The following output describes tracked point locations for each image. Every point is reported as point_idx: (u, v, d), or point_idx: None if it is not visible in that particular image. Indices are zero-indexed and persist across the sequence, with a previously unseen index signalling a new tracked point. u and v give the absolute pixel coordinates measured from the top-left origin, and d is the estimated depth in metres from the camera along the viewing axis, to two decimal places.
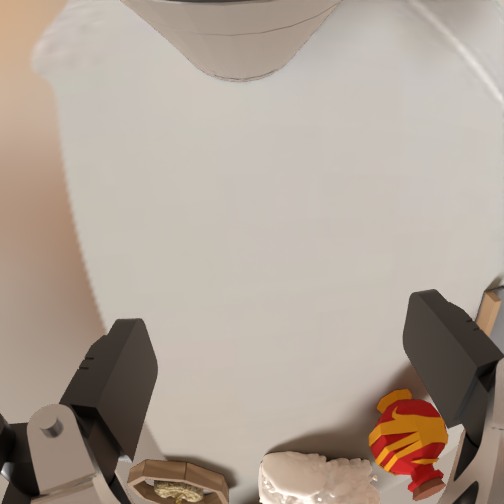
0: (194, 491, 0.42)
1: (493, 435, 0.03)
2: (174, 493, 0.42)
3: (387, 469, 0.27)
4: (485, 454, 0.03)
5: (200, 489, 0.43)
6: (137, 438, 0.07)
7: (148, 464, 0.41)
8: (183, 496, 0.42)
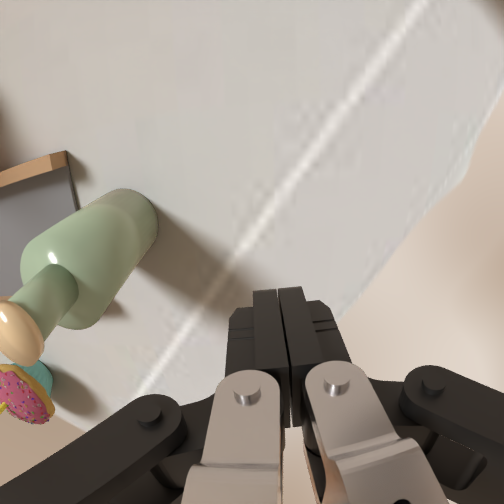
0: None
1: (333, 466, 0.04)
2: None
3: None
4: (335, 486, 0.04)
5: None
6: None
7: None
8: None
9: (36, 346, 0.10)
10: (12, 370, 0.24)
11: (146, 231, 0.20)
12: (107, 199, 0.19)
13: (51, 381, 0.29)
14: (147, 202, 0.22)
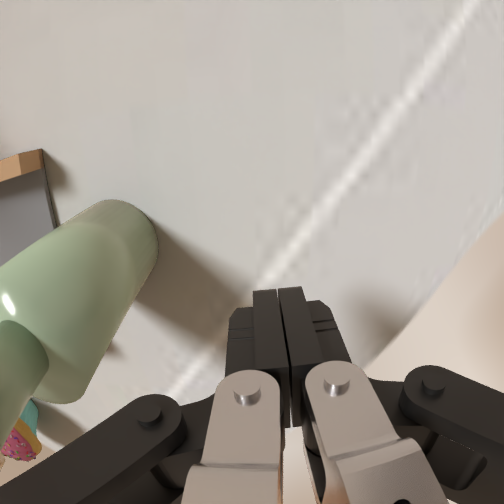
0: None
1: (333, 466, 0.04)
2: None
3: None
4: (335, 486, 0.04)
5: None
6: None
7: None
8: None
9: None
10: None
11: (143, 260, 0.15)
12: (90, 216, 0.14)
13: (36, 414, 0.24)
14: (144, 218, 0.17)
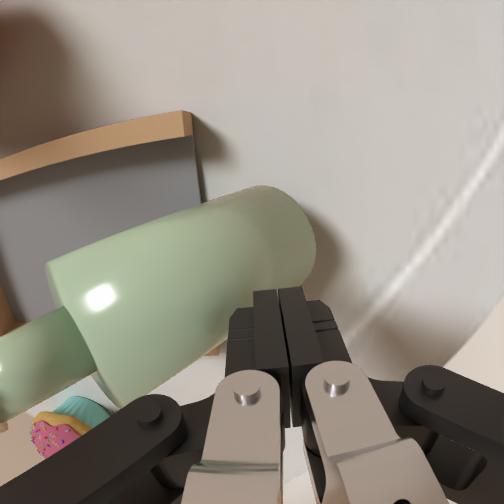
0: None
1: (333, 466, 0.04)
2: None
3: None
4: (335, 486, 0.04)
5: None
6: None
7: None
8: None
9: None
10: (66, 423, 0.18)
11: (279, 276, 0.12)
12: (224, 206, 0.12)
13: None
14: (303, 221, 0.14)
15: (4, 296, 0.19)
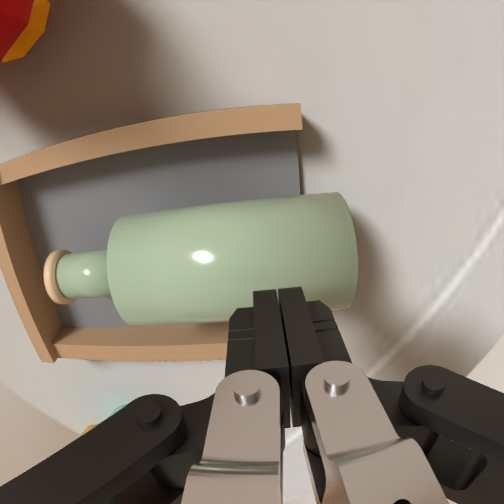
0: None
1: (333, 466, 0.04)
2: None
3: None
4: (335, 486, 0.03)
5: None
6: None
7: None
8: None
9: (50, 296, 0.14)
10: None
11: None
12: (266, 207, 0.13)
13: None
14: (347, 245, 0.12)
15: (51, 300, 0.18)
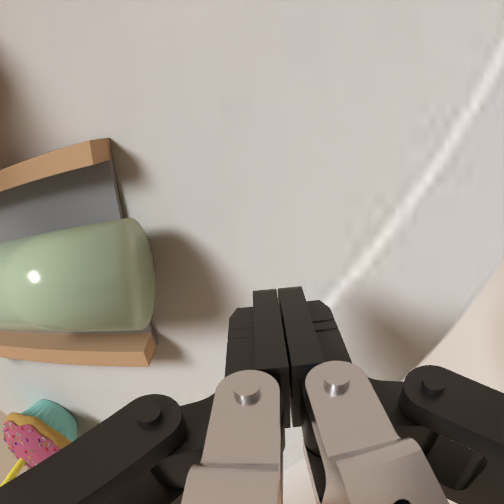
0: None
1: (333, 466, 0.04)
2: None
3: None
4: (335, 486, 0.04)
5: None
6: None
7: None
8: None
9: None
10: (30, 423, 0.18)
11: (66, 307, 0.12)
12: (60, 237, 0.13)
13: (76, 428, 0.24)
14: (104, 270, 0.12)
15: None
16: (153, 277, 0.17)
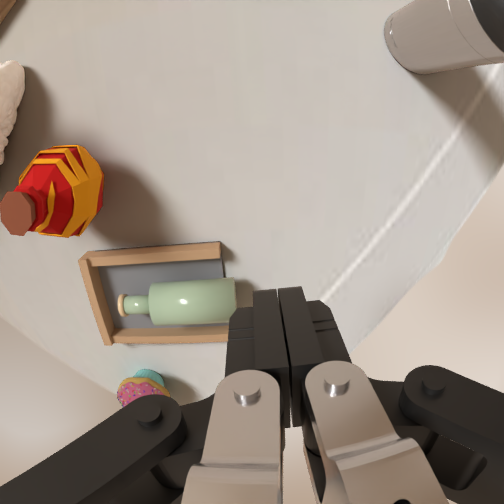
0: None
1: (333, 466, 0.04)
2: None
3: (35, 161, 0.24)
4: (334, 486, 0.04)
5: None
6: None
7: None
8: None
9: (119, 312, 0.37)
10: (146, 381, 0.41)
11: (210, 312, 0.36)
12: (204, 283, 0.37)
13: None
14: (230, 298, 0.36)
15: (110, 315, 0.42)
16: (236, 301, 0.41)
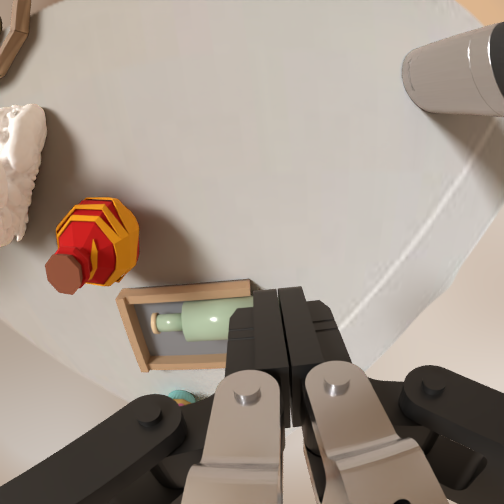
0: None
1: (333, 466, 0.04)
2: None
3: (73, 218, 0.28)
4: (334, 486, 0.04)
5: None
6: None
7: None
8: None
9: (151, 321, 0.40)
10: (181, 402, 0.45)
11: None
12: None
13: None
14: None
15: (146, 344, 0.46)
16: None
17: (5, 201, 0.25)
